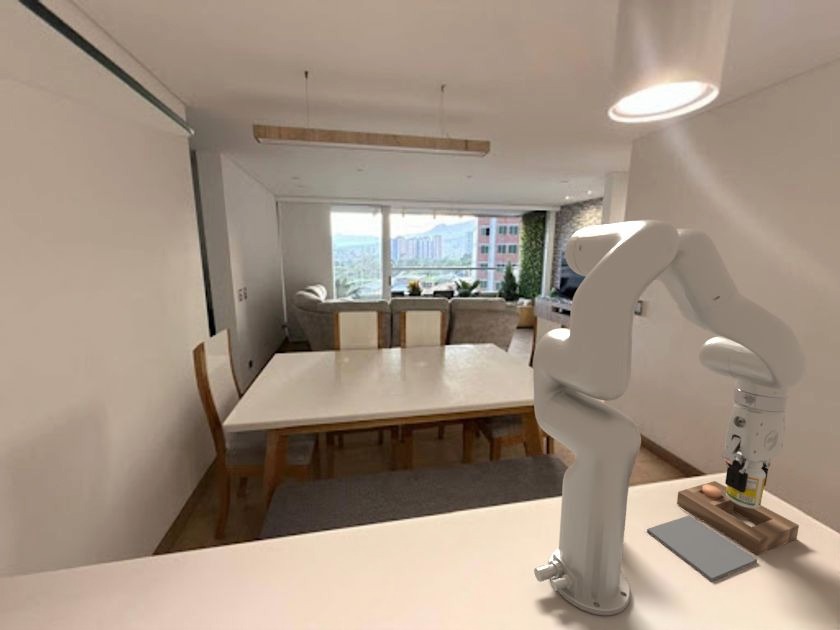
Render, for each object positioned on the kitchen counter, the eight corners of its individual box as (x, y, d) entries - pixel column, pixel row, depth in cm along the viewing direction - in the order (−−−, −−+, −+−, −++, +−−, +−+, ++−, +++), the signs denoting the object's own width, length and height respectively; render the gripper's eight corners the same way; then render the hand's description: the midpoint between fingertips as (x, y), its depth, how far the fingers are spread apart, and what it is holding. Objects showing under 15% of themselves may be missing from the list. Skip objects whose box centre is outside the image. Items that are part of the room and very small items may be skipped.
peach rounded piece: (712, 512, 78) (714, 495, 77) (697, 502, 81) (699, 486, 80) (722, 508, 79) (724, 492, 78) (706, 499, 82) (709, 483, 81)
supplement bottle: (743, 510, 70) (750, 464, 69) (718, 492, 75) (724, 450, 74) (768, 508, 71) (775, 463, 69) (741, 491, 76) (748, 449, 74)
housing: (757, 555, 66) (759, 540, 66) (676, 503, 80) (678, 491, 80) (796, 538, 70) (798, 525, 70) (713, 492, 84) (714, 480, 84)
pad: (711, 581, 61) (711, 578, 61) (646, 531, 72) (647, 528, 72) (756, 562, 65) (757, 559, 65) (688, 517, 76) (689, 515, 76)
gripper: (753, 412, 64) (738, 505, 66) (810, 402, 69) (794, 488, 72) (708, 397, 71) (696, 482, 73) (763, 389, 76) (750, 468, 79)
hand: (745, 484), depth 72 cm, fingers closed on supplement bottle, 5 cm apart
